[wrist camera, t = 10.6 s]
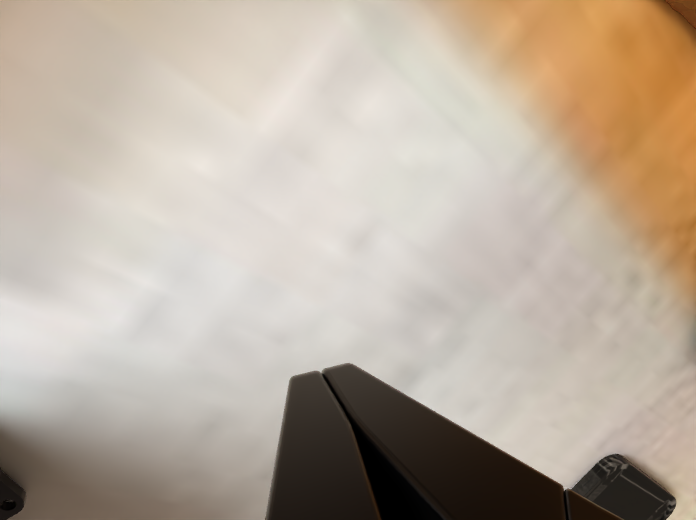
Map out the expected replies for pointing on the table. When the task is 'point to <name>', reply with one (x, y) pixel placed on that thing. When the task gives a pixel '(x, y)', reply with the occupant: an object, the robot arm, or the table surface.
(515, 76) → the table surface
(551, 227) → the table surface
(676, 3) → the primitive tool
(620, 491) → the phone
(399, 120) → the table surface
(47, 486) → the table surface
